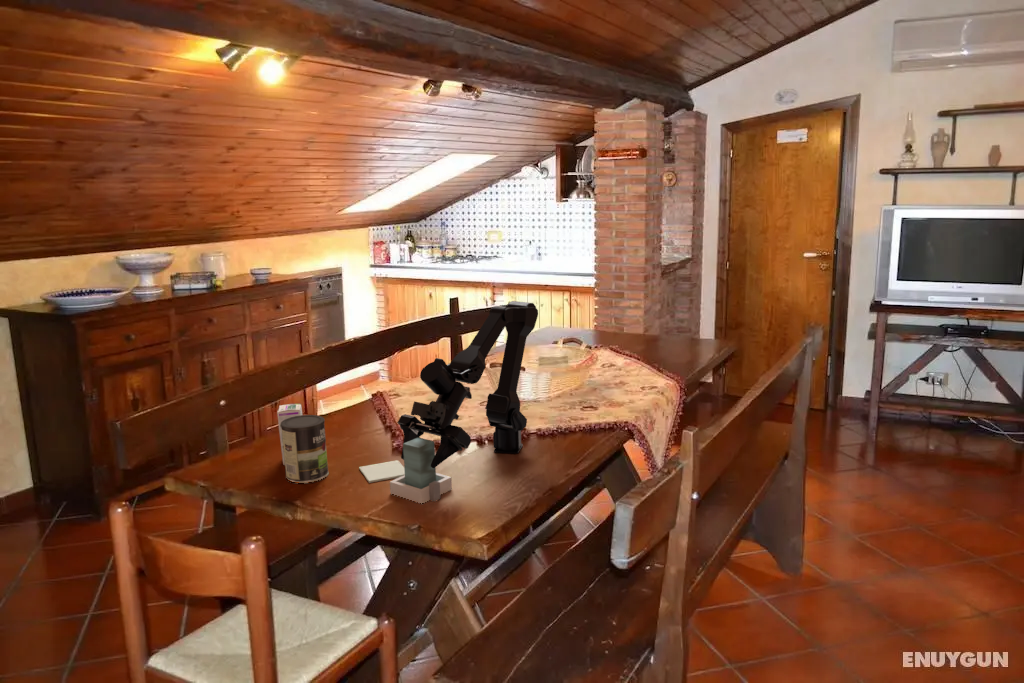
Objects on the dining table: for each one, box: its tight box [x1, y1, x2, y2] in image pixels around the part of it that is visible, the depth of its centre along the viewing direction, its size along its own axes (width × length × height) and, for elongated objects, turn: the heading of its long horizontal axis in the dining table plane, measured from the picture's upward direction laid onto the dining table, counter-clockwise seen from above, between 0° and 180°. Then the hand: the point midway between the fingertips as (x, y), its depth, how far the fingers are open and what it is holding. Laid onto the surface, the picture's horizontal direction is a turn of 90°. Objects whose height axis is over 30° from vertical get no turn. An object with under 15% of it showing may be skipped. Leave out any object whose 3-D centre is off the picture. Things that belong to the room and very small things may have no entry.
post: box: [402, 437, 437, 489], centre depth 181 cm, size 5×5×12 cm
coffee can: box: [281, 414, 330, 484], centre depth 192 cm, size 10×10×14 cm
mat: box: [358, 459, 405, 484], centre depth 194 cm, size 10×10×1 cm
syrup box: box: [276, 403, 303, 466], centre depth 202 cm, size 6×6×14 cm
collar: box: [389, 472, 453, 505], centre depth 181 cm, size 10×11×4 cm
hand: (417, 463), depth 180 cm, fingers open, 9 cm apart
